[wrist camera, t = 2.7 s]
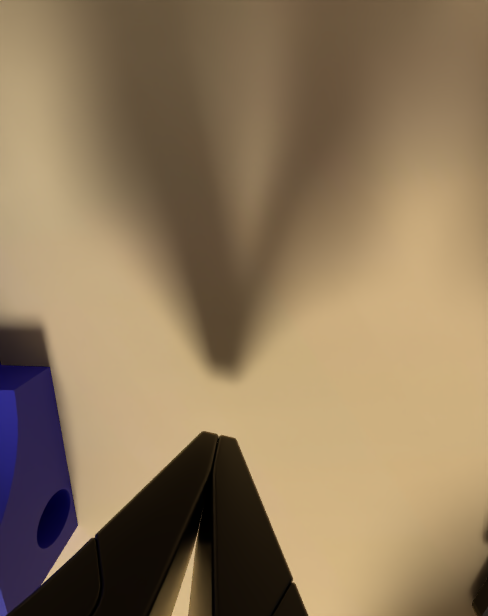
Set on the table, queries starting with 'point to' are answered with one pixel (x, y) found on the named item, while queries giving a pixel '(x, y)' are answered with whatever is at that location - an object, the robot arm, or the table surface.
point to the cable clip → (31, 483)
